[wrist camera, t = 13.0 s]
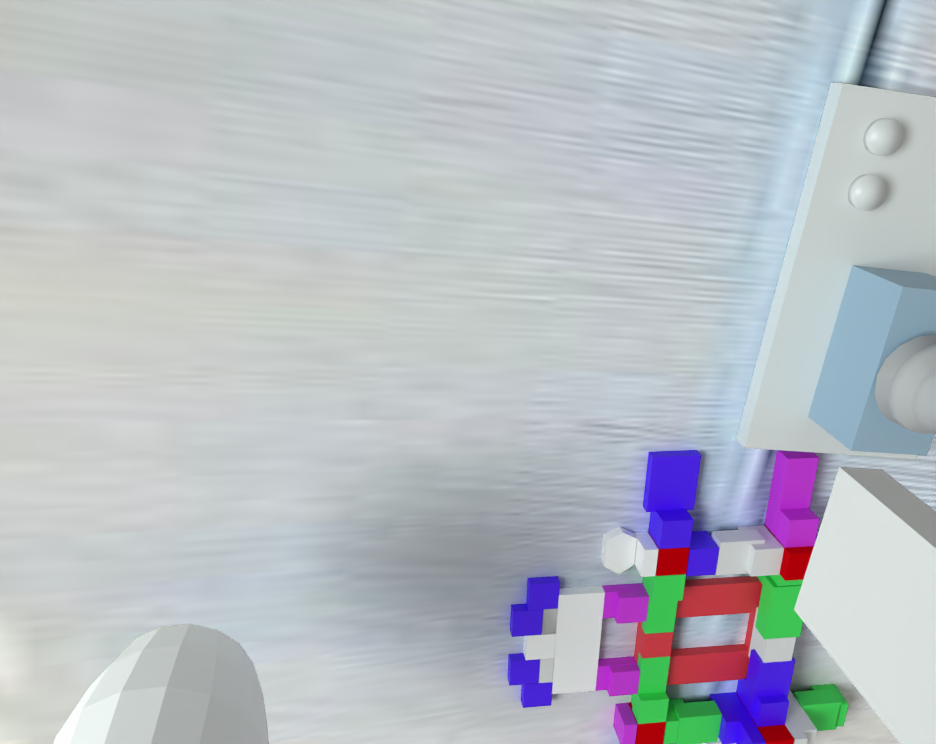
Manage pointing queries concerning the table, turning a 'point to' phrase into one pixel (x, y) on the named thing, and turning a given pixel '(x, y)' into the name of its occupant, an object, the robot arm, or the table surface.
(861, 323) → the blue brick
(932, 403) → the rook chess piece
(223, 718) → the cup
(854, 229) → the build plate
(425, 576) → the table surface
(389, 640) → the table surface
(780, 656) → the building block set
